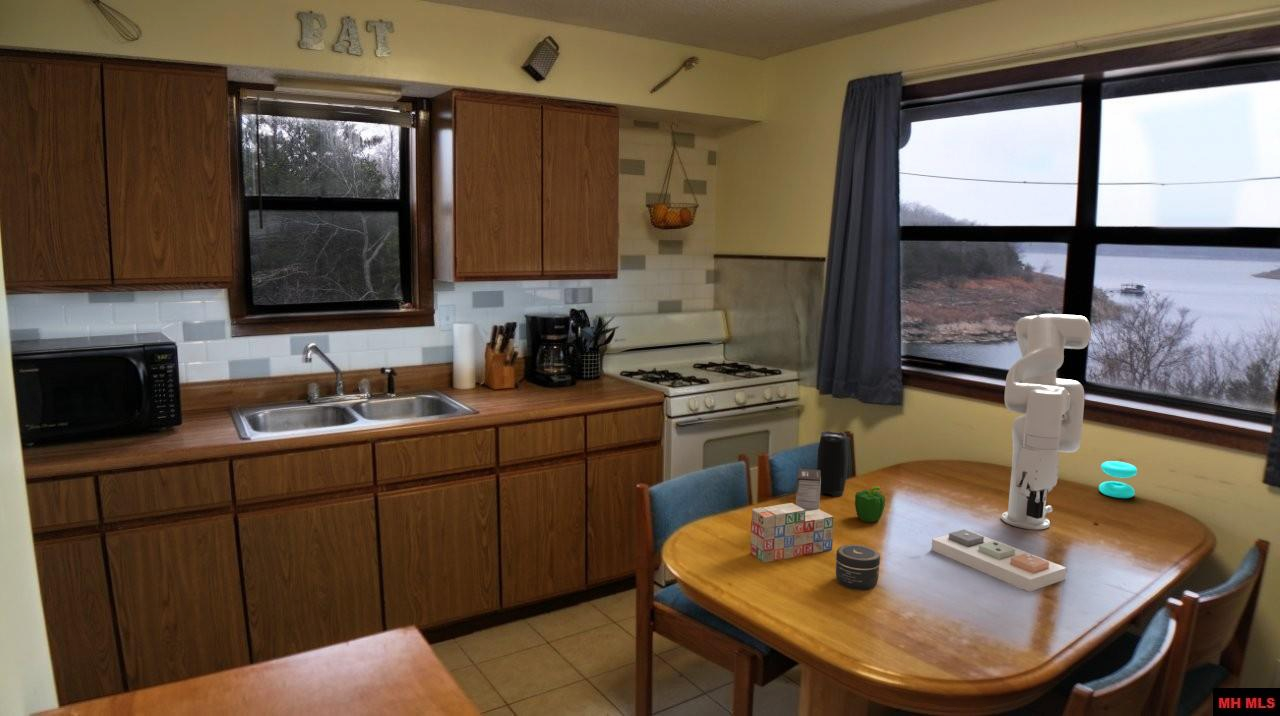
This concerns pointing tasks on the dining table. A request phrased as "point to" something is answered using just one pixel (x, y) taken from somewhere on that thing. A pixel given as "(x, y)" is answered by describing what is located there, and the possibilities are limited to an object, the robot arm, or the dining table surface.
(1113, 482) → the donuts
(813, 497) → the coffee box
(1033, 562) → the tile three
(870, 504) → the bell pepper
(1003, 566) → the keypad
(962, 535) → the tile one
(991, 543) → the tile two
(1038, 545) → the dining table surface
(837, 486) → the portable speaker
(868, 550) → the jar
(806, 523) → the stack of blocks
